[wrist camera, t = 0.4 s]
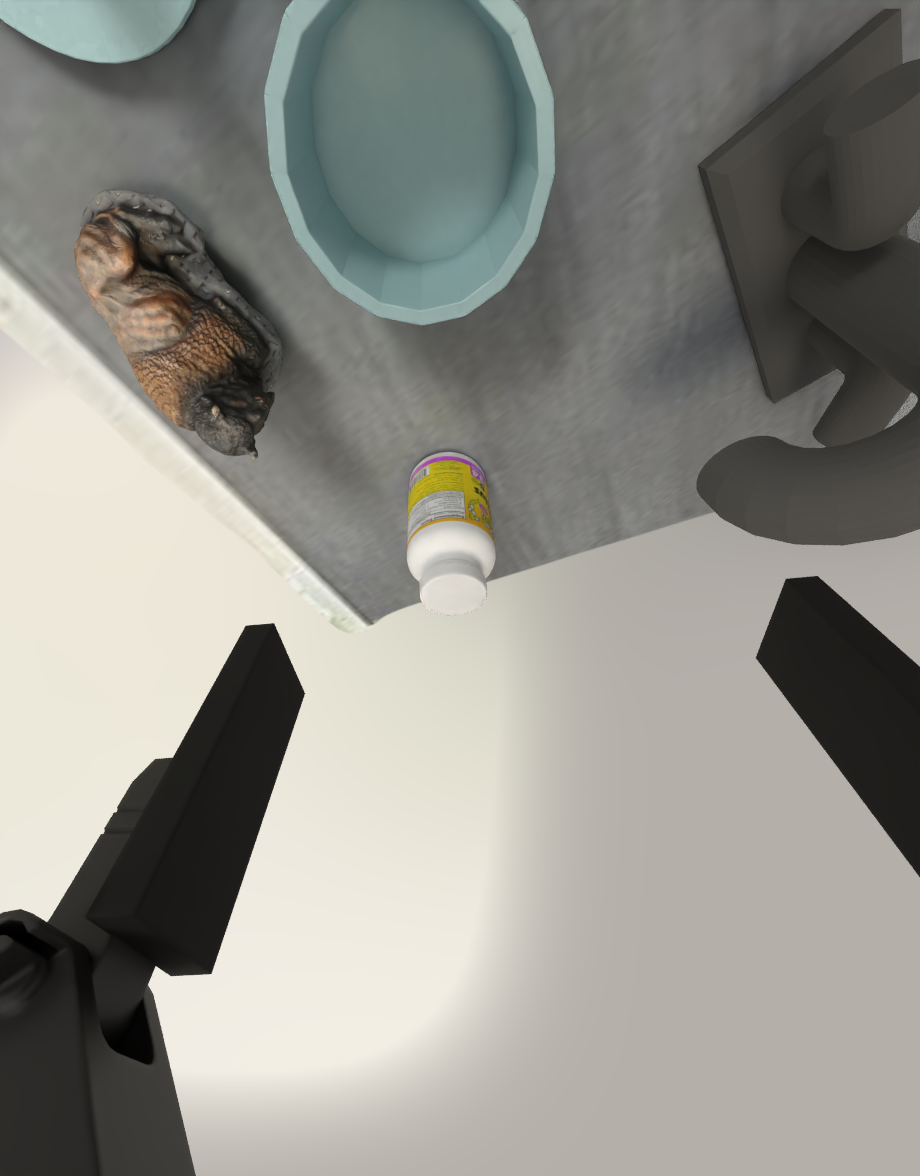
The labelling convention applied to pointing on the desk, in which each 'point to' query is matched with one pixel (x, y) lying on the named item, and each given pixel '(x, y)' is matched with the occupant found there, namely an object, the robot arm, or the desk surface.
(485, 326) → the desk surface
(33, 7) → the lid
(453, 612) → the supplement bottle
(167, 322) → the brown striped lumpy figure
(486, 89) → the bowl
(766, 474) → the faucet
